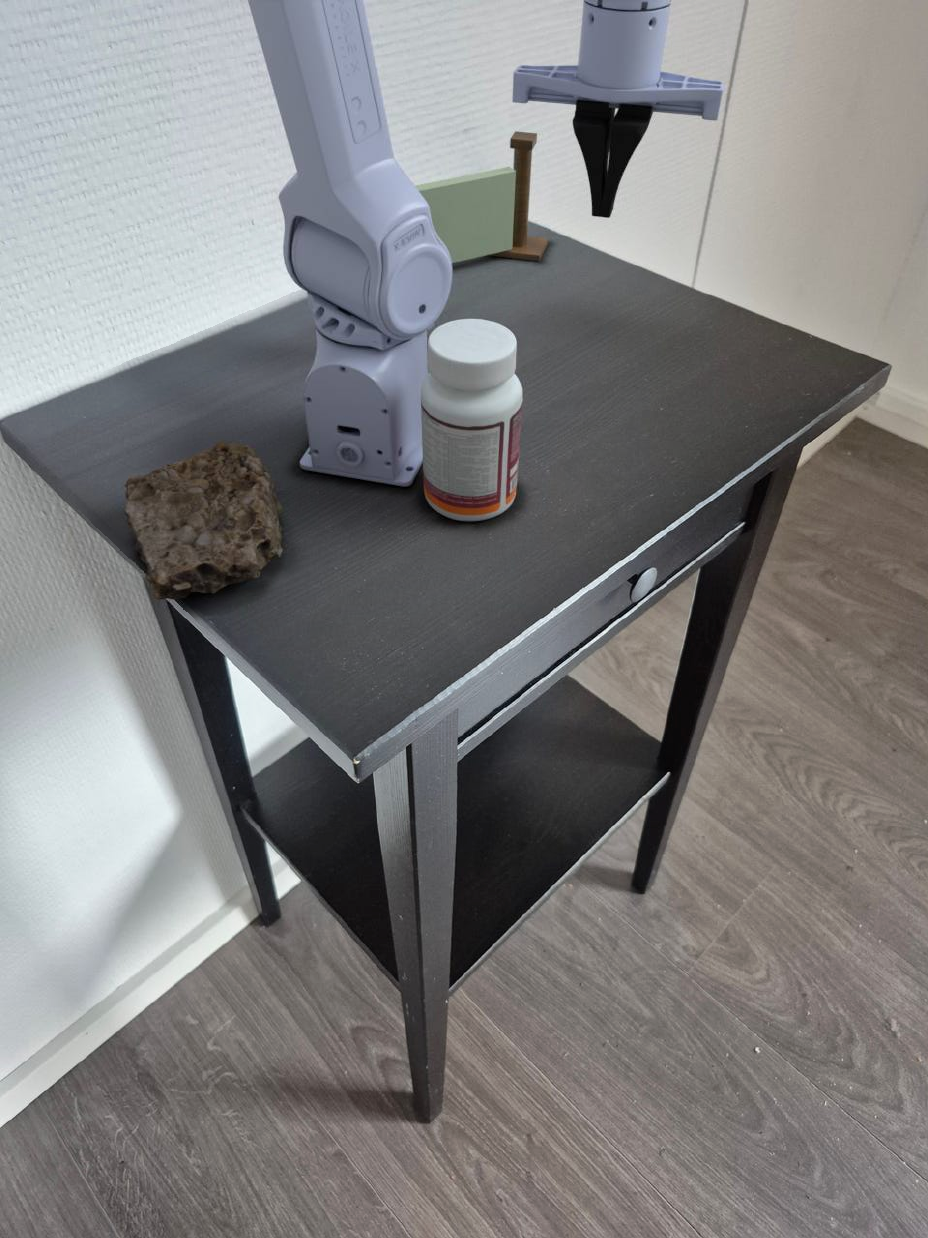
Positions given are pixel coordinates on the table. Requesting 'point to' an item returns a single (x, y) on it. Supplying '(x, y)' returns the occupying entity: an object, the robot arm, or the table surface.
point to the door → (473, 212)
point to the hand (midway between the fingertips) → (602, 211)
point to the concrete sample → (205, 521)
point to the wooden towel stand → (523, 201)
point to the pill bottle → (471, 420)
